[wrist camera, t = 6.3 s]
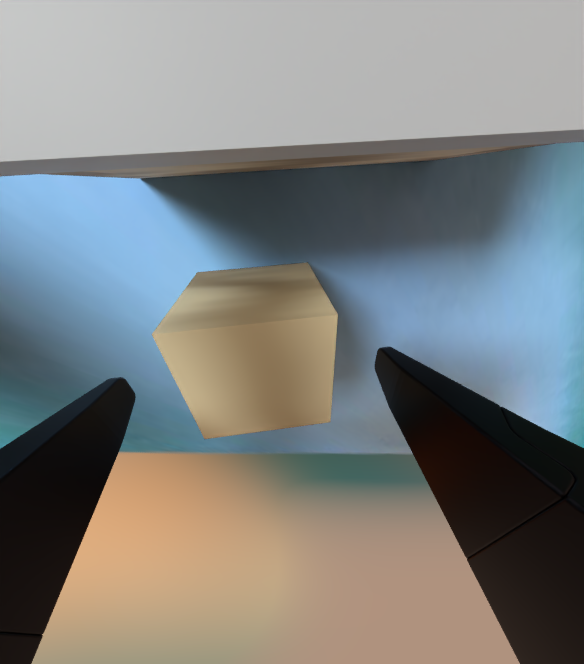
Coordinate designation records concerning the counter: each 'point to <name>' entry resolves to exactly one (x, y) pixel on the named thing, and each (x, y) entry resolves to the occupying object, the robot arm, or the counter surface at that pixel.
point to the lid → (281, 79)
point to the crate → (289, 163)
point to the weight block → (252, 349)
